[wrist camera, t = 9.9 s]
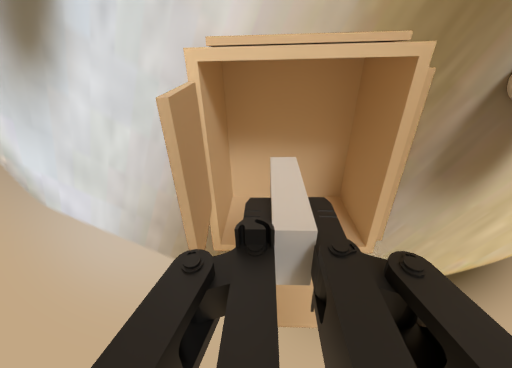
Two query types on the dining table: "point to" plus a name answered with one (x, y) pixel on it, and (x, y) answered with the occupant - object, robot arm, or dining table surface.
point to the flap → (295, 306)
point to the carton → (310, 120)
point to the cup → (509, 87)
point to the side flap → (187, 160)
